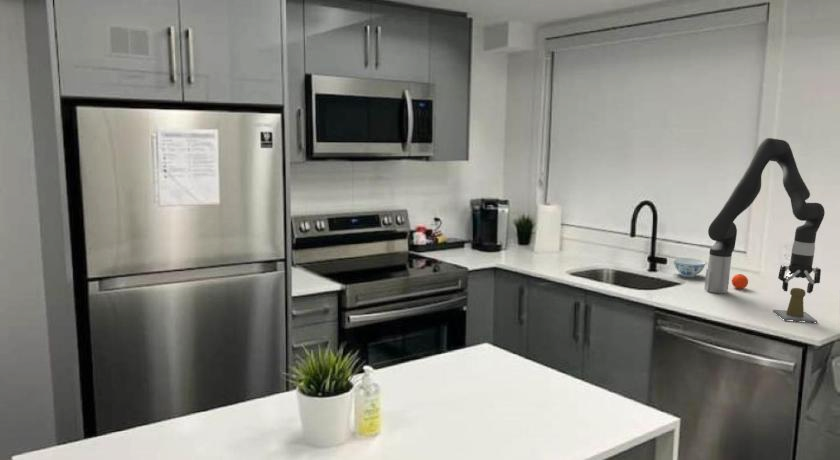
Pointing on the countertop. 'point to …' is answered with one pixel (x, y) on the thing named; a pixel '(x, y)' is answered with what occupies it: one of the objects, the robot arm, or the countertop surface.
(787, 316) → the trivet
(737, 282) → the clementine
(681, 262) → the chinaware
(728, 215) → the robot arm
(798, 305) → the cork
